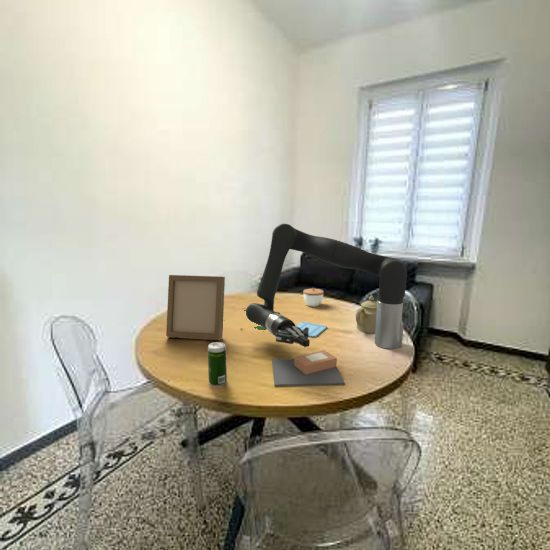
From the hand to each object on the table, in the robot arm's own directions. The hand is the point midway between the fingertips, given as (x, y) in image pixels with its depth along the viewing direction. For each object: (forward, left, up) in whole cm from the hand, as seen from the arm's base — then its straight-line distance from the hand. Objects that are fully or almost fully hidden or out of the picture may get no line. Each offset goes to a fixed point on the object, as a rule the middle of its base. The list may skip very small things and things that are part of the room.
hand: (307, 343), depth 105 cm
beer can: (+27, +2, -11) cm, 30 cm away
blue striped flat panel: (-7, -40, -12) cm, 43 cm away
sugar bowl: (-33, -39, -11) cm, 52 cm away
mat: (0, -3, -11) cm, 12 cm away
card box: (+2, -4, -9) cm, 10 cm away
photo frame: (+39, -38, -11) cm, 56 cm away
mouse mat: (+18, -55, -12) cm, 59 cm away
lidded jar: (-15, -77, -11) cm, 79 cm away
